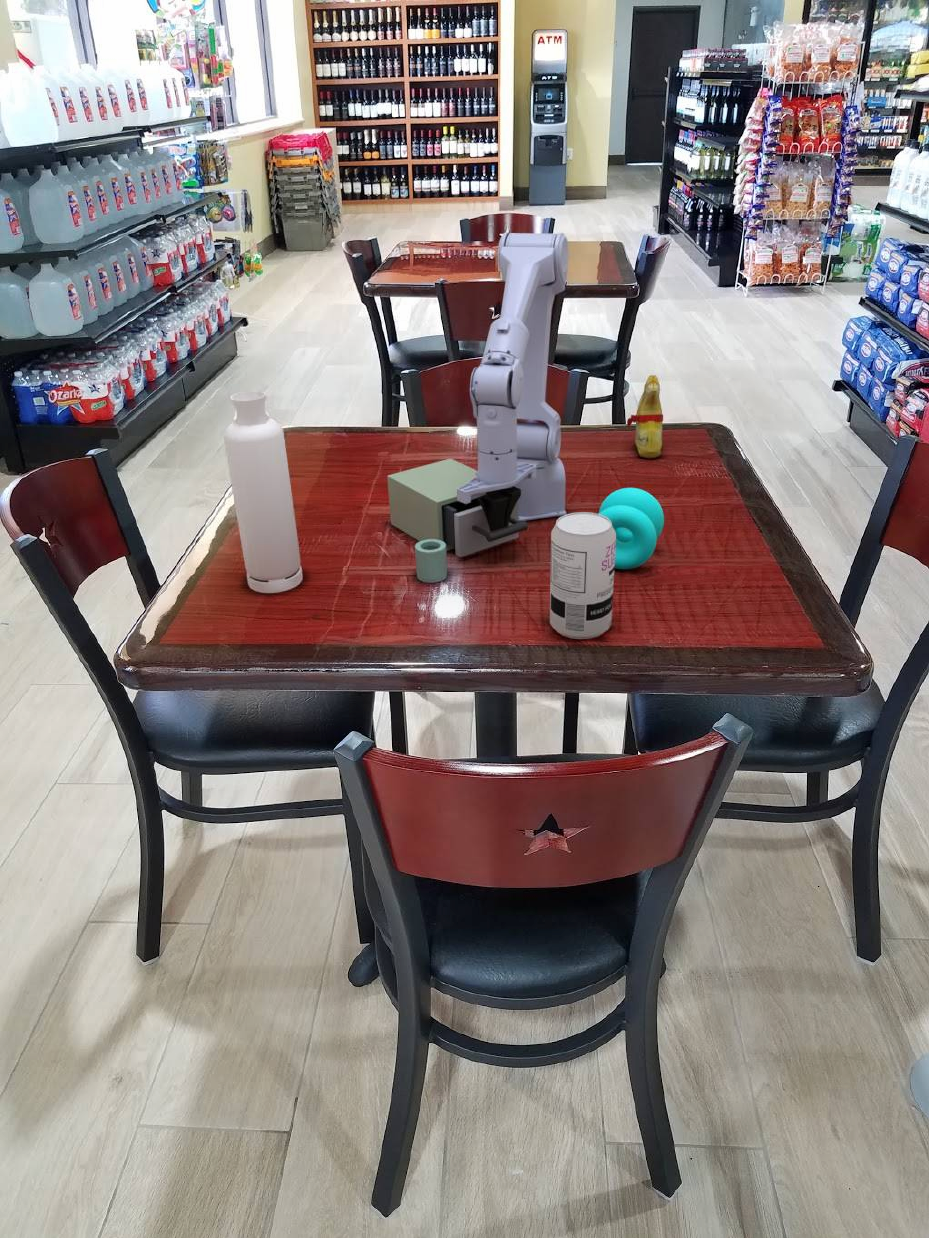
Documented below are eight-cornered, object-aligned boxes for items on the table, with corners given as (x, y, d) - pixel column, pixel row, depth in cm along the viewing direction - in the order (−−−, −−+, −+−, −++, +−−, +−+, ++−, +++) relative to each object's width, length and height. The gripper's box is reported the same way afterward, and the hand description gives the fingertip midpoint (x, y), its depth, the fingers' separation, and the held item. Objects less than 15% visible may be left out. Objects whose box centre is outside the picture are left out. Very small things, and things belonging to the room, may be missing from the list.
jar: (442, 567, 141) (441, 537, 139) (450, 580, 137) (449, 549, 135) (414, 571, 140) (412, 541, 138) (420, 584, 136) (419, 554, 134)
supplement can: (544, 613, 128) (546, 512, 120) (604, 609, 128) (609, 508, 121) (554, 643, 121) (556, 538, 113) (617, 639, 121) (623, 534, 114)
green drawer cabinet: (503, 532, 152) (502, 482, 147) (439, 553, 146) (437, 502, 141) (452, 505, 162) (450, 458, 158) (390, 524, 156) (387, 475, 152)
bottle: (306, 587, 137) (281, 400, 123) (250, 596, 135) (219, 407, 121) (298, 564, 143) (274, 384, 130) (245, 572, 142) (215, 391, 128)
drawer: (539, 548, 144) (539, 507, 141) (479, 569, 138) (478, 527, 135) (469, 511, 157) (467, 473, 154) (412, 529, 152) (409, 490, 148)
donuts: (662, 548, 145) (667, 488, 140) (652, 576, 136) (657, 513, 131) (599, 541, 148) (602, 481, 143) (585, 568, 139) (587, 506, 134)
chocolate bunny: (657, 441, 188) (663, 366, 180) (664, 460, 178) (670, 382, 171) (623, 441, 188) (627, 367, 181) (628, 460, 179) (632, 383, 171)
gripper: (513, 430, 142) (513, 512, 148) (441, 454, 133) (445, 540, 140) (547, 440, 137) (545, 525, 144) (474, 466, 129) (477, 554, 135)
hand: (498, 533), depth 142 cm, fingers closed
